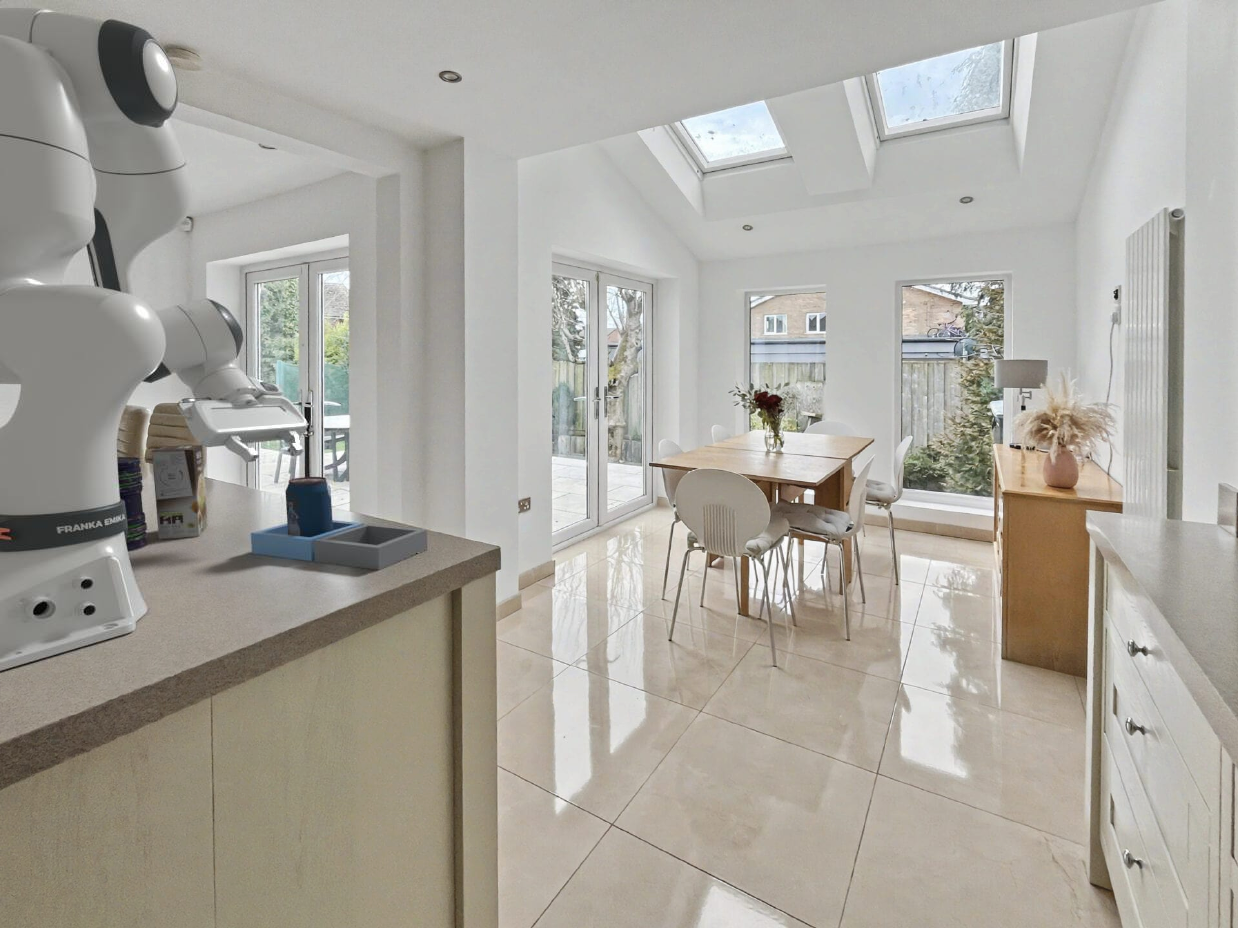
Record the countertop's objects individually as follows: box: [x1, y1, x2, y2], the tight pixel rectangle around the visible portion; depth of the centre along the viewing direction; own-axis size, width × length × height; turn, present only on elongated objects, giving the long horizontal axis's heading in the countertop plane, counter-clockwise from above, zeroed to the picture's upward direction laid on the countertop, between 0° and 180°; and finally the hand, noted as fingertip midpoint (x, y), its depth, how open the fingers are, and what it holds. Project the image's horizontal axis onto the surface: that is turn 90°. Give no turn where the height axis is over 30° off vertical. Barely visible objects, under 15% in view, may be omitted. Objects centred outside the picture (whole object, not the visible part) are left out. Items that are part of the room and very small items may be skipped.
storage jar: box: [117, 456, 148, 553], centre depth 105 cm, size 10×10×15 cm
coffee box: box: [151, 444, 209, 540], centre depth 116 cm, size 9×6×16 cm
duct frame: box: [250, 519, 428, 571], centre depth 106 cm, size 12×25×4 cm, turn 72°
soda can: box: [284, 476, 333, 537], centre depth 107 cm, size 7×7×12 cm
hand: (276, 456), depth 108 cm, fingers open, 8 cm apart
